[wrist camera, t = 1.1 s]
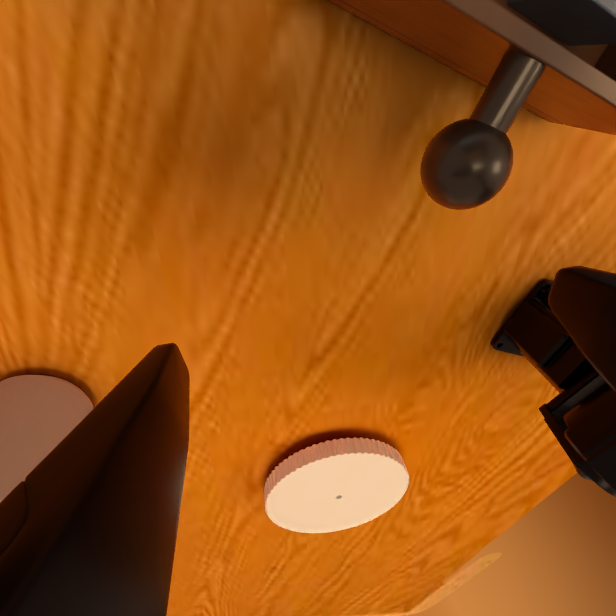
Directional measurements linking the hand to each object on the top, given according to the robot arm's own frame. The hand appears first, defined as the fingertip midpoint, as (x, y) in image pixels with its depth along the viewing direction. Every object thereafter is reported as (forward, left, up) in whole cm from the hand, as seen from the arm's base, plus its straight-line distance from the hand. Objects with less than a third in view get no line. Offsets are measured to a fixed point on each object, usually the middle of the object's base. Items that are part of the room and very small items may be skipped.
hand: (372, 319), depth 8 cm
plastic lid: (-14, +26, -14) cm, 32 cm away
